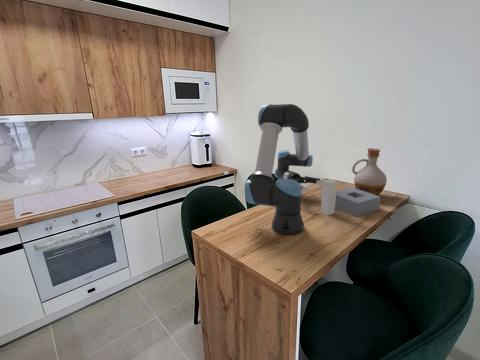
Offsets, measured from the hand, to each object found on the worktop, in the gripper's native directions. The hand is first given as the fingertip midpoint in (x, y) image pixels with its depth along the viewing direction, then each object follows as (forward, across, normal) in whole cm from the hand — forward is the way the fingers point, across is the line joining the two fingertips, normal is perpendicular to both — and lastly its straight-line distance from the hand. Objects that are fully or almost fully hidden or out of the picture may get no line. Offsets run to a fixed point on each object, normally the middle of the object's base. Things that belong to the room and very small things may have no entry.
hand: (316, 187), depth 141 cm
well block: (+12, -18, -12) cm, 24 cm away
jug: (+4, -39, -12) cm, 41 cm away
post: (+10, 0, -12) cm, 15 cm away
